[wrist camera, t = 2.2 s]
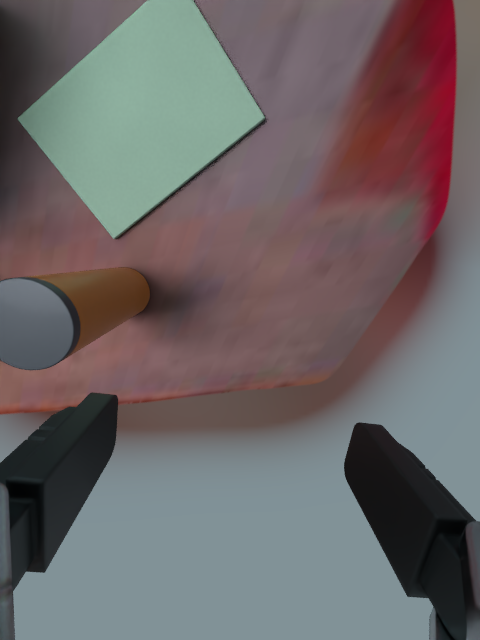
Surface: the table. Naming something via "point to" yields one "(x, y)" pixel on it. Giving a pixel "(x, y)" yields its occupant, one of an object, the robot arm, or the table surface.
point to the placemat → (143, 113)
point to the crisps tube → (64, 312)
